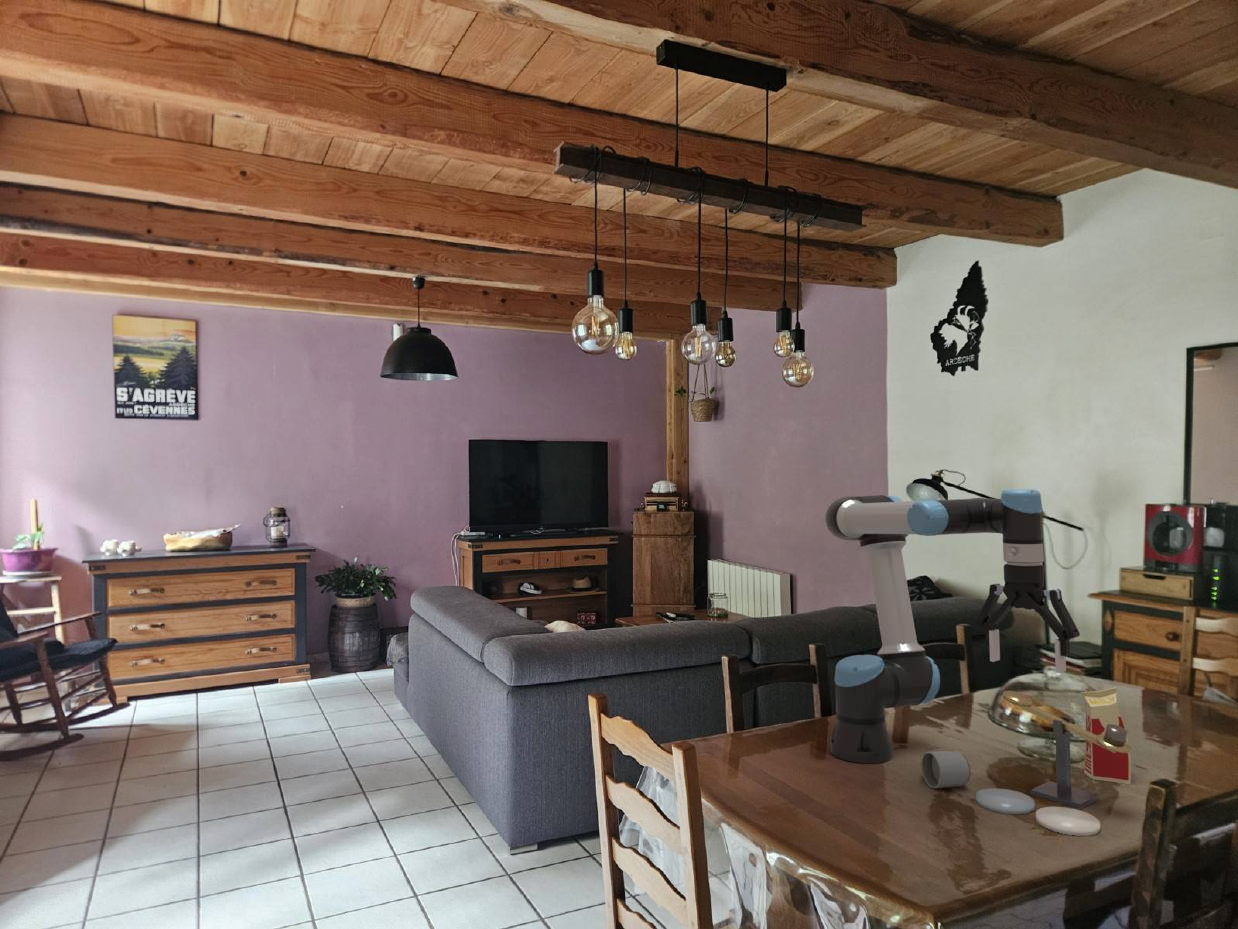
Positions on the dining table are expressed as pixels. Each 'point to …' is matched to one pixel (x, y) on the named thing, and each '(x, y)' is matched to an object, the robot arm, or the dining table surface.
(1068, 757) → the balance stand
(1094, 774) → the milk carton
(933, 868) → the dining table surface
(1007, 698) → the balance beam
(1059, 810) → the plate far cream
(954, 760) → the ceramic mug
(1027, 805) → the plate near greyblue
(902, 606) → the robot arm
